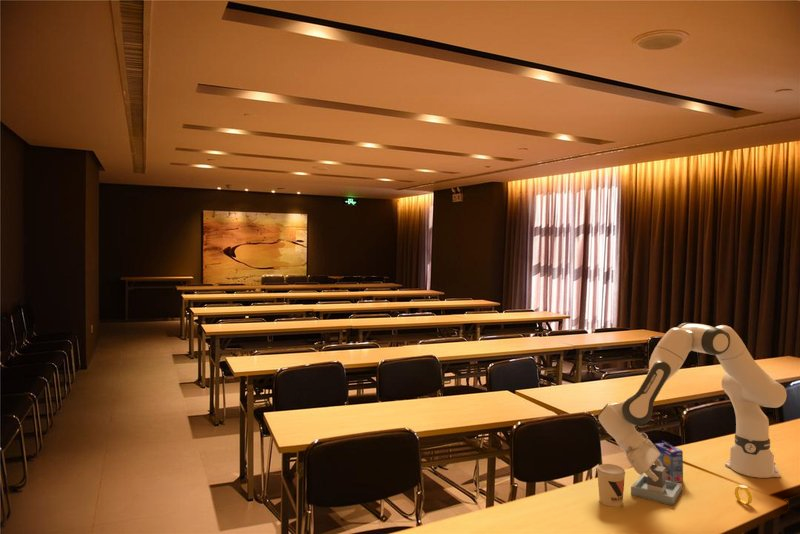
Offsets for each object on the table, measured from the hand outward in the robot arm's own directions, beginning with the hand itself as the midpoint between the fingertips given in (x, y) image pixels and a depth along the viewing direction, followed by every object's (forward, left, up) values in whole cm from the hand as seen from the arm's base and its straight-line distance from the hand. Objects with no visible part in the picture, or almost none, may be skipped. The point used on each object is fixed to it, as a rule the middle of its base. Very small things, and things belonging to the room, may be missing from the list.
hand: (660, 475), depth 199 cm
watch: (-11, +25, -7) cm, 28 cm away
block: (0, -1, -6) cm, 6 cm away
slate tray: (0, -1, -7) cm, 7 cm away
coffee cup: (+17, -12, -7) cm, 22 cm away
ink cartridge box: (-18, -1, -7) cm, 19 cm away
